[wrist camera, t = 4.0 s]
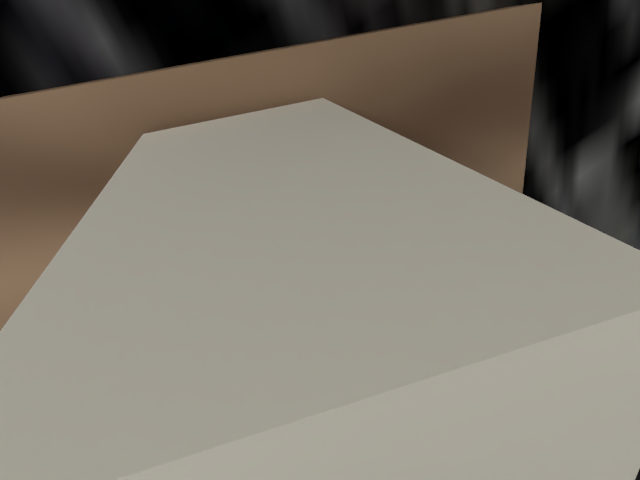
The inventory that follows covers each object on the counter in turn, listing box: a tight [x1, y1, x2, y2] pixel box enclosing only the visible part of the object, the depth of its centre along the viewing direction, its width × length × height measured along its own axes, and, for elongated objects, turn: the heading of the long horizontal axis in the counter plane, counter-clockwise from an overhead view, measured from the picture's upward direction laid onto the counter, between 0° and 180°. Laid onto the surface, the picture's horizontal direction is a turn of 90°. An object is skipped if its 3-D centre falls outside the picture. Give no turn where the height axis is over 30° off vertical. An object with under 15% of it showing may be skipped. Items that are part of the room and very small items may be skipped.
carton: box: [0, 98, 640, 480], centre depth 9 cm, size 5×10×10 cm, turn 9°
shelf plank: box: [0, 3, 542, 331], centre depth 14 cm, size 18×19×4 cm
